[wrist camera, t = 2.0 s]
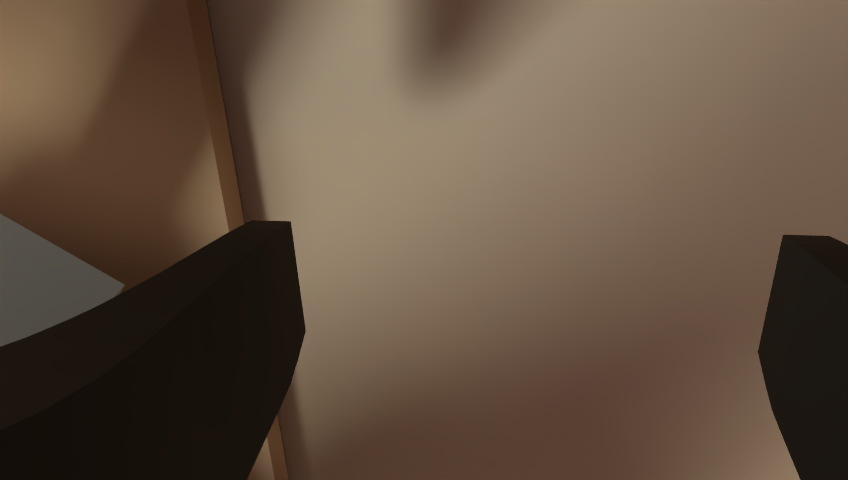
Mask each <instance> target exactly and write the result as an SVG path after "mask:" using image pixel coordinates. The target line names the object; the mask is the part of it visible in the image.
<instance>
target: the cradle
mask: <svg viewBox="0 0 848 480" xmlns="http://www.w3.org/2000/svg"><path fill="white" fill-rule="evenodd" d="M0 214H2V215H3V216H5V217H7V218H9V219H10V220H12V221H14V222H16V223H17V224H19V225H21V226H23V227H24V228H26V229H28V230H30V231H31V232H33V233H35V234H37V235H38V236H40V237H42V238H44V239H45V240H47V241H49V242H51V243H52V244H54V245H56V246H58V247H59V248H61V249H63V250H65V251H66V252H68V253H70V254H72V255H73V256H75V257H77V258H79V259H80V260H82V261H84V262H86V263H87V264H89V265H91V266H93V267H94V268H96V269H98V270H100V271H101V272H103V273H105V274H107V275H108V276H110V277H112V278H114V279H115V280H117V281H119V282H121V283H122V284H124V287H123V289H122V291H121V293H123V292H125V291H127V290H128V289H130V288H132V287H134V286H136V285H138V284H140V283H141V282H143V281H145V280H147V279H149V278H151V277H153V276H155V275H156V274H158V273H160V272H162V271H163V270H165V269H167V268H168V267H170V266H172V265H174V264H175V263H177V262H179V261H180V260H182V259H184V258H186V257H187V256H189V255H191V254H192V253H194V252H196V251H197V250H199V249H201V248H202V247H204V246H206V245H208V244H209V243H211V242H213V241H214V240H216V239H218V238H219V237H221V236H223V235H225V234H227V233H228V232H230V231H232V230H234V229H236V228H237V227H239V226H241V225H243V224H245V223H244V218H243V212H242V206H241V200H240V194H239V189H238V183H237V177H236V171H235V165H234V160H233V154H232V148H231V142H230V136H229V130H228V125H227V119H226V113H225V107H224V101H223V96H222V90H221V84H220V78H219V72H218V67H217V61H216V55H215V49H214V43H213V38H212V32H211V26H210V20H209V14H208V9H207V3H206V0H0ZM121 293H120V294H121ZM247 480H289V479H288V473H287V467H286V461H285V455H284V450H283V444H282V438H281V432H280V426H279V421H278V415H276V418H275V420H274V422H273V424H272V427H271V429H270V431H269V433H268V435H267V437H266V440H265V442H264V444H263V446H262V448H261V450H260V453H259V455H258V457H257V459H256V461H255V464H254V466H253V468H252V470H251V472H250V474H249V477H248V479H247Z"/></svg>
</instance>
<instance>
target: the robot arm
mask: <svg viewBox="0 0 848 480" xmlns="http://www.w3.org/2000/svg"><path fill="white" fill-rule="evenodd" d="M305 331H306V330H305V323H304V316H303V308H302V301H301V294H300V286H299V279H298V272H297V264H296V257H295V250H294V242H293V235H292V228H291V222H289V221H251V222H248V223H246V224H243V225H241V226H239V227H237V228H236V229H234V230H232V231H230V232H228V233H227V234H225V235H223V236H221V237H219V238H218V239H216V240H214V241H213V242H211V243H209V244H208V245H206V246H204V247H202V248H201V249H199V250H197V251H196V252H194V253H192V254H191V255H189V256H187V257H186V258H184V259H182V260H180V261H179V262H177V263H175V264H174V265H172V266H170V267H168V268H167V269H165V270H163V271H162V272H160V273H158V274H156V275H155V276H153V277H151V278H149V279H147V280H145V281H143V282H141V283H140V284H138V285H136V286H134V287H132V288H130V289H128V290H127V291H125V292H123V293H121V294H119V295H117V296H115V297H113V298H112V299H110V300H108V301H106V302H104V303H102V304H100V305H98V306H96V307H94V308H92V309H90V310H88V311H86V312H83V313H81V314H79V315H77V316H75V317H73V318H71V319H68V320H66V321H64V322H61V323H59V324H57V325H54V326H52V327H50V328H47V329H45V330H43V331H40V332H38V333H36V334H33V335H30V336H28V337H25V338H23V339H20V340H17V341H15V342H12V343H9V344H6V345H3V346H0V480H247V479H248V477H249V474H250V472H251V470H252V468H253V466H254V464H255V461H256V459H257V457H258V455H259V453H260V450H261V448H262V446H263V444H264V442H265V440H266V437H267V435H268V433H269V431H270V429H271V427H272V424H273V422H274V420H275V418H276V415H277V413H278V411H279V409H280V407H281V404H282V402H283V400H284V398H285V395H286V393H287V391H288V388H289V386H290V384H291V380H292V377H293V374H294V371H295V367H296V364H297V361H298V357H299V353H300V350H301V346H302V342H303V339H304V335H305ZM758 354H759V358H760V363H761V367H762V372H763V376H764V380H765V385H766V388H767V392H768V396H769V400H770V403H771V407H772V411H773V413H774V416H775V419H776V421H777V424H778V426H779V429H780V431H781V434H782V436H783V438H784V441H785V443H786V446H787V448H788V451H789V453H790V456H791V458H792V460H793V463H794V465H795V467H796V470H797V472H798V475H799V477H800V479H801V480H848V245H847V244H845V243H843V242H841V241H839V240H836V239H834V238H832V237H830V236H806V235H783V238H782V242H781V247H780V251H779V256H778V261H777V265H776V270H775V275H774V279H773V284H772V289H771V293H770V298H769V303H768V307H767V312H766V317H765V321H764V326H763V331H762V335H761V340H760V345H759V349H758Z"/></svg>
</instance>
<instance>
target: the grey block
mask: <svg viewBox="0 0 848 480" xmlns="http://www.w3.org/2000/svg"><path fill="white" fill-rule="evenodd" d="M123 287H124V284H122V283H121V282H119V281H117V280H115V279H114V278H112V277H110V276H108V275H107V274H105V273H103V272H101V271H100V270H98V269H96V268H94V267H93V266H91V265H89V264H87V263H86V262H84V261H82V260H80V259H79V258H77V257H75V256H73V255H72V254H70V253H68V252H66V251H65V250H63V249H61V248H59V247H58V246H56V245H54V244H52V243H51V242H49V241H47V240H45V239H44V238H42V237H40V236H38V235H37V234H35V233H33V232H31V231H30V230H28V229H26V228H24V227H23V226H21V225H19V224H17V223H16V222H14V221H12V220H10V219H9V218H7V217H5V216H3V215H2V214H0V346H3V345H6V344H9V343H12V342H15V341H17V340H20V339H23V338H25V337H28V336H30V335H33V334H36V333H38V332H40V331H43V330H45V329H47V328H50V327H52V326H54V325H57V324H59V323H61V322H64V321H66V320H68V319H71V318H73V317H75V316H77V315H79V314H81V313H83V312H86V311H88V310H90V309H92V308H94V307H96V306H98V305H100V304H102V303H104V302H106V301H108V300H110V299H112V298H113V297H115V296H117V295H119V294H120V293H121V291H122V289H123Z"/></svg>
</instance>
